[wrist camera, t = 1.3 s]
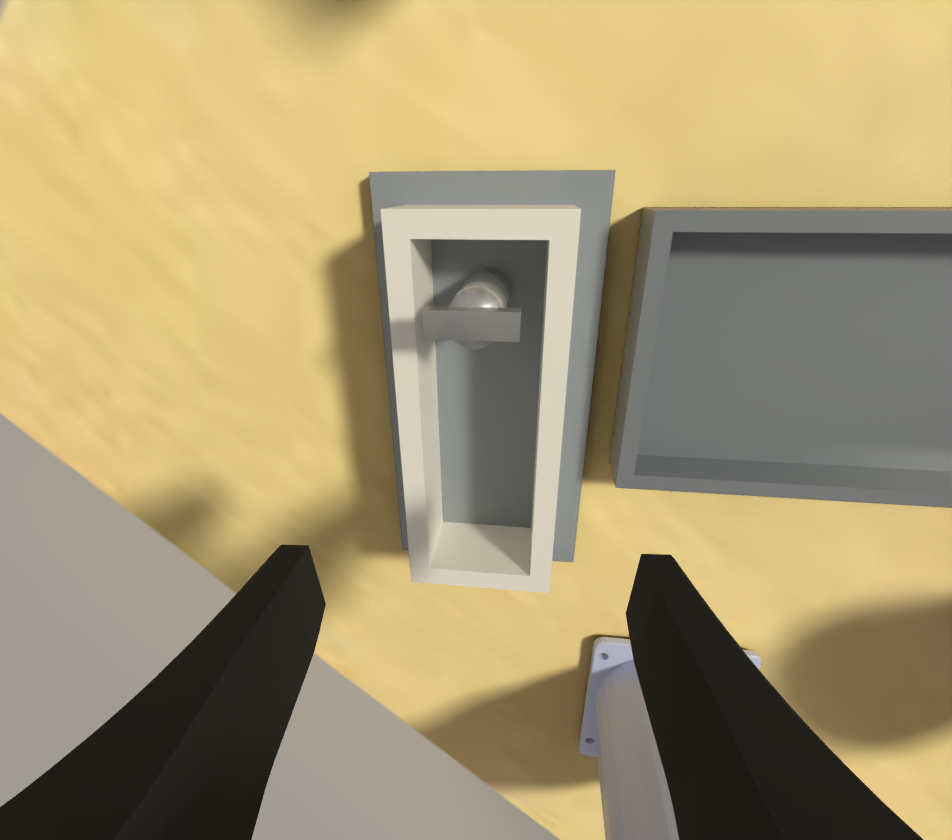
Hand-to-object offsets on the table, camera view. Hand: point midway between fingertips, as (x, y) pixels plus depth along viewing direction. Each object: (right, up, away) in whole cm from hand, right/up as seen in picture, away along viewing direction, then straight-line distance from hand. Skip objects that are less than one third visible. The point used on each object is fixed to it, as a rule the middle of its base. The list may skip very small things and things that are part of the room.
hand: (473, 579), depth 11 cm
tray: (+15, +6, +6) cm, 18 cm away
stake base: (+1, +5, +9) cm, 10 cm away
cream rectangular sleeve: (+1, +4, +8) cm, 10 cm away
